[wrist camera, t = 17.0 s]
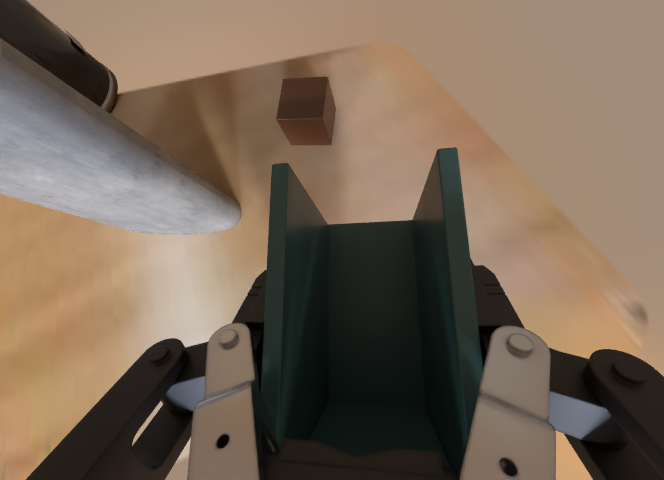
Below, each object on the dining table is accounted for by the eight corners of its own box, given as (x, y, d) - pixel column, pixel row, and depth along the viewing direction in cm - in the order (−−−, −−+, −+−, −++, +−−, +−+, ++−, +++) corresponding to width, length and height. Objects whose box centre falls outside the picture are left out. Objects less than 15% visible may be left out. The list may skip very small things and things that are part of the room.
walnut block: (322, 118, 23) (328, 76, 24) (275, 119, 24) (282, 78, 24) (331, 145, 27) (335, 108, 27) (291, 145, 27) (296, 109, 28)
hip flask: (243, 199, 27) (-103, -59, 8) (236, 240, 26) (-169, 66, 7) (106, 195, 30) (-383, 5, 11) (96, 232, 29) (-453, 96, 10)
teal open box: (437, 415, 14) (505, 546, 6) (318, 408, 15) (253, 515, 7) (422, 221, 16) (457, 146, 9) (320, 227, 17) (271, 163, 10)
